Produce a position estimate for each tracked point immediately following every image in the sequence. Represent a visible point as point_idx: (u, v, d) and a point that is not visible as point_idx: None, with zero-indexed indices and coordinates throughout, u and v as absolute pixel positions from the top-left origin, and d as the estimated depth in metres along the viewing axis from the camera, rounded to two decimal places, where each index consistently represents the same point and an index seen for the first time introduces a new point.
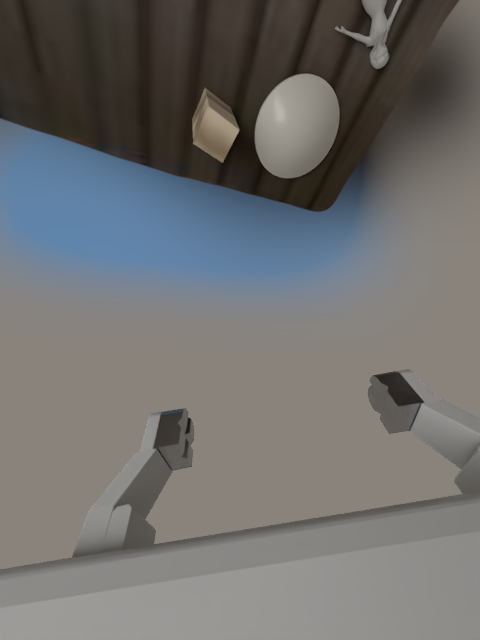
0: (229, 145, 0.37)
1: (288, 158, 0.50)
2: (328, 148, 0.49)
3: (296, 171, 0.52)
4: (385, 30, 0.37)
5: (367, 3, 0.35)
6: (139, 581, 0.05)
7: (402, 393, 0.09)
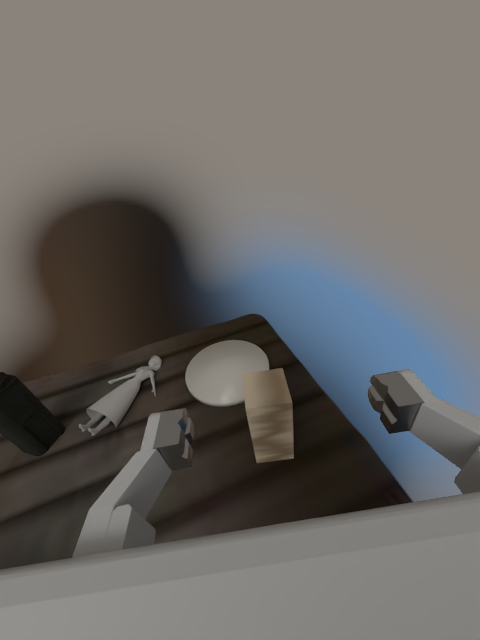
0: (261, 372, 0.30)
1: (246, 358, 0.48)
2: (218, 343, 0.53)
3: (250, 347, 0.50)
4: (141, 368, 0.48)
5: (134, 387, 0.45)
6: (139, 581, 0.05)
7: (402, 393, 0.09)
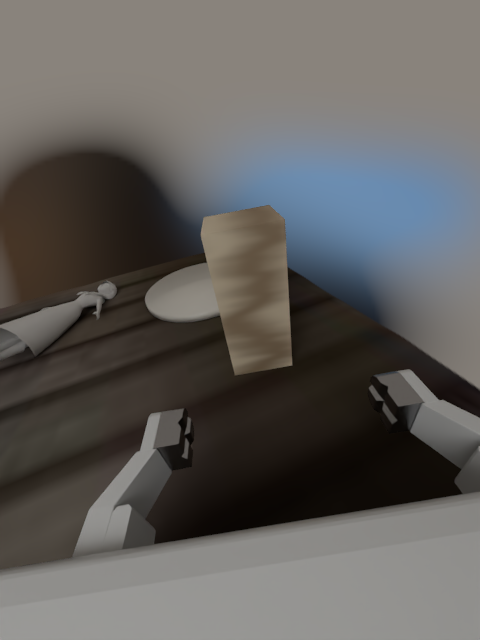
0: (235, 211, 0.18)
1: None
2: (194, 266, 0.41)
3: None
4: (85, 293, 0.36)
5: (71, 310, 0.32)
6: (139, 581, 0.05)
7: (402, 393, 0.09)
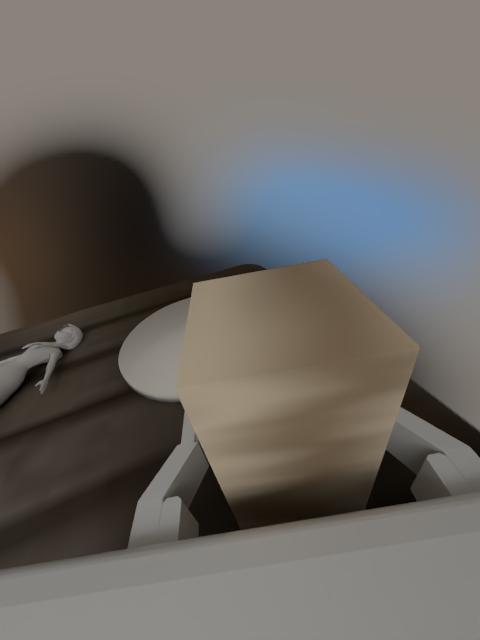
0: (258, 273, 0.09)
1: None
2: (188, 299, 0.32)
3: None
4: (35, 345, 0.26)
5: (6, 378, 0.23)
6: (139, 581, 0.05)
7: None
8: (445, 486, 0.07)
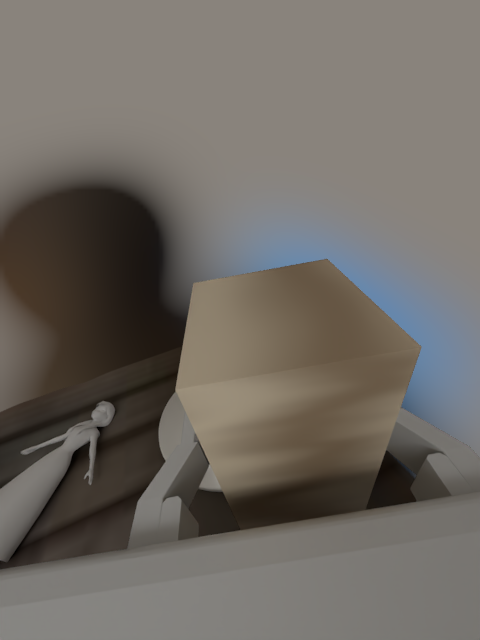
0: (258, 273, 0.09)
1: None
2: None
3: None
4: (76, 427, 0.29)
5: (57, 468, 0.26)
6: (139, 581, 0.05)
7: None
8: (445, 486, 0.07)
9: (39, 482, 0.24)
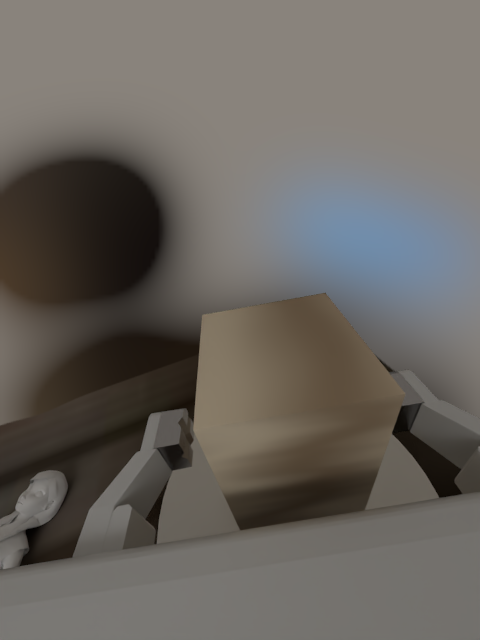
0: (262, 307, 0.10)
1: None
2: None
3: None
4: None
5: None
6: (139, 581, 0.05)
7: None
8: None
9: None
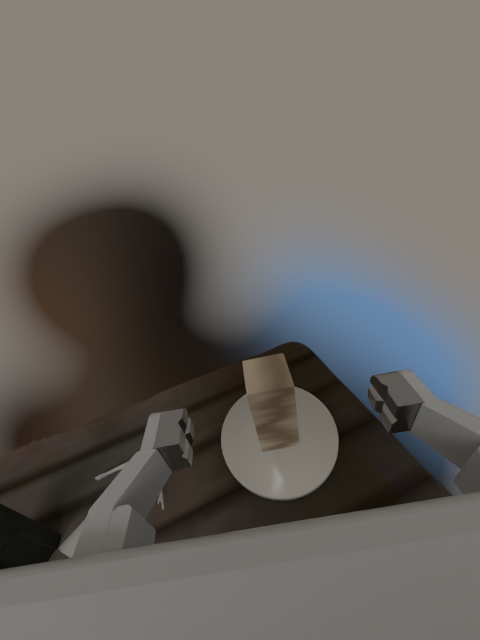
0: (262, 358, 0.29)
1: (302, 415, 0.35)
2: None
3: (302, 397, 0.38)
4: None
5: None
6: (139, 581, 0.05)
7: (402, 393, 0.09)
8: None
9: None
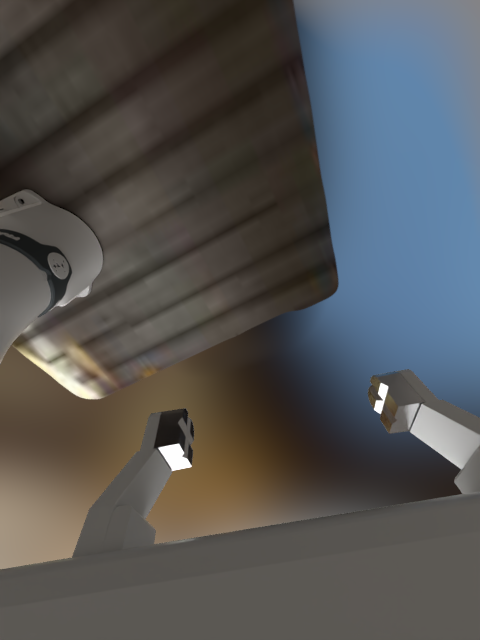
0: None
1: None
2: None
3: None
4: None
5: None
6: (139, 581, 0.05)
7: (402, 393, 0.09)
8: None
9: None
